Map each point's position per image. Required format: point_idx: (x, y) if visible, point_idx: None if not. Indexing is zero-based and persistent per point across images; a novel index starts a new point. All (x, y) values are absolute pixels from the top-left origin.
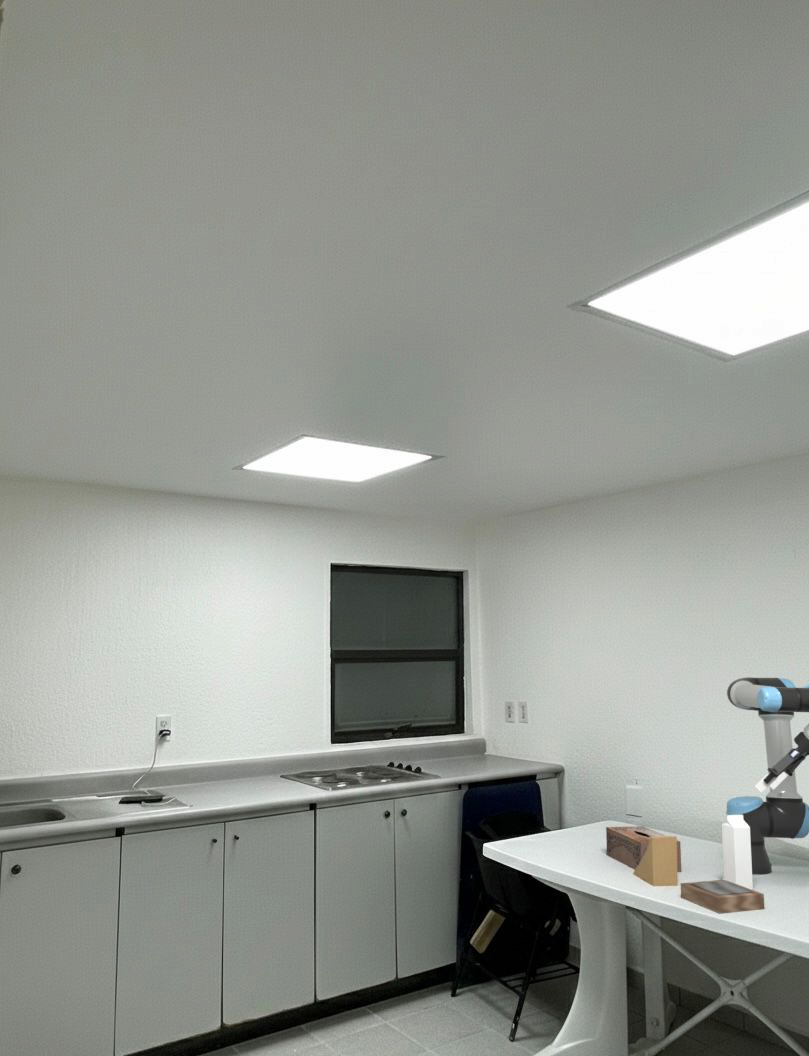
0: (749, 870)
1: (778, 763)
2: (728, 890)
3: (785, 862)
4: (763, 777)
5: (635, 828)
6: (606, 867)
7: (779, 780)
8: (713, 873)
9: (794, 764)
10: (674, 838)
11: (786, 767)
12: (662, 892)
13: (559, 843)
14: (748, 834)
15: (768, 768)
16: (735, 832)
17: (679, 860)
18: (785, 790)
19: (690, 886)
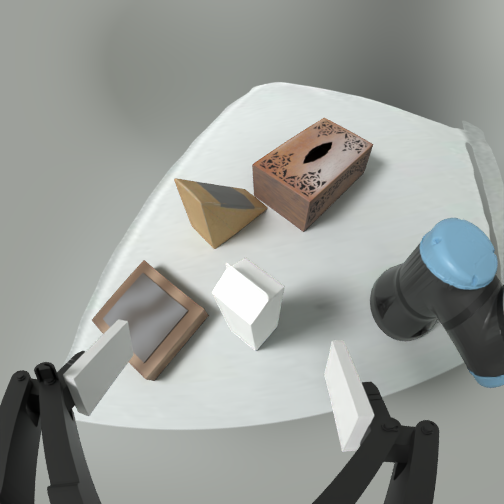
0: (249, 341)
1: (1, 415)
2: (130, 327)
3: None
4: (87, 350)
5: (349, 140)
6: (255, 160)
7: (335, 404)
8: (333, 271)
9: None
10: (198, 203)
11: (33, 461)
12: (165, 243)
13: (329, 108)
14: (247, 326)
15: (37, 367)
16: (216, 299)
17: (303, 220)
18: None
19: (132, 275)
